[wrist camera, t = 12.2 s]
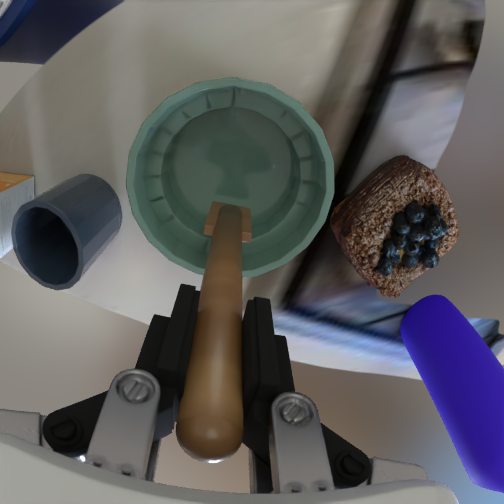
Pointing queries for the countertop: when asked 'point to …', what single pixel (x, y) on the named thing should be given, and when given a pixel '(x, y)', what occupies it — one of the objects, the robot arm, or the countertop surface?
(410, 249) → the pastry
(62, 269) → the crock
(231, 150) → the bowl
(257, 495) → the robot arm
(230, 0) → the countertop surface
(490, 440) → the bottle
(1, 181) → the small box
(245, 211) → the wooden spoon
